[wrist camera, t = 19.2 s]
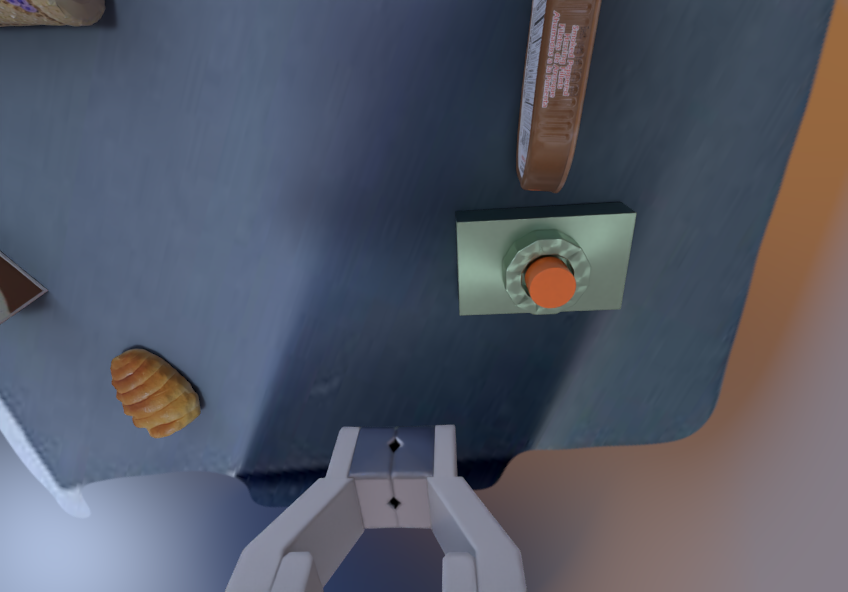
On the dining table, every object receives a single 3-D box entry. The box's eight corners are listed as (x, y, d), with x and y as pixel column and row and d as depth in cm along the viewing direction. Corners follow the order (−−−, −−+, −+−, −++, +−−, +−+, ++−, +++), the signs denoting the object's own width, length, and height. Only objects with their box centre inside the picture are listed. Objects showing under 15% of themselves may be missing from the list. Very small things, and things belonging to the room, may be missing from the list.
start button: (525, 257, 30) (530, 268, 29) (570, 255, 30) (578, 266, 28) (523, 296, 32) (528, 309, 30) (566, 294, 32) (574, 307, 30)
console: (455, 211, 34) (456, 231, 29) (621, 201, 33) (649, 220, 28) (458, 298, 37) (460, 328, 33) (608, 292, 36) (630, 322, 32)
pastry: (104, 356, 42) (75, 380, 39) (157, 335, 41) (131, 359, 37) (164, 422, 46) (142, 449, 42) (214, 405, 44) (195, 432, 41)
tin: (545, 178, 32) (575, 208, 25) (504, 177, 32) (522, 207, 25) (583, -75, 25) (641, -140, 18) (530, -75, 25) (566, -140, 18)
